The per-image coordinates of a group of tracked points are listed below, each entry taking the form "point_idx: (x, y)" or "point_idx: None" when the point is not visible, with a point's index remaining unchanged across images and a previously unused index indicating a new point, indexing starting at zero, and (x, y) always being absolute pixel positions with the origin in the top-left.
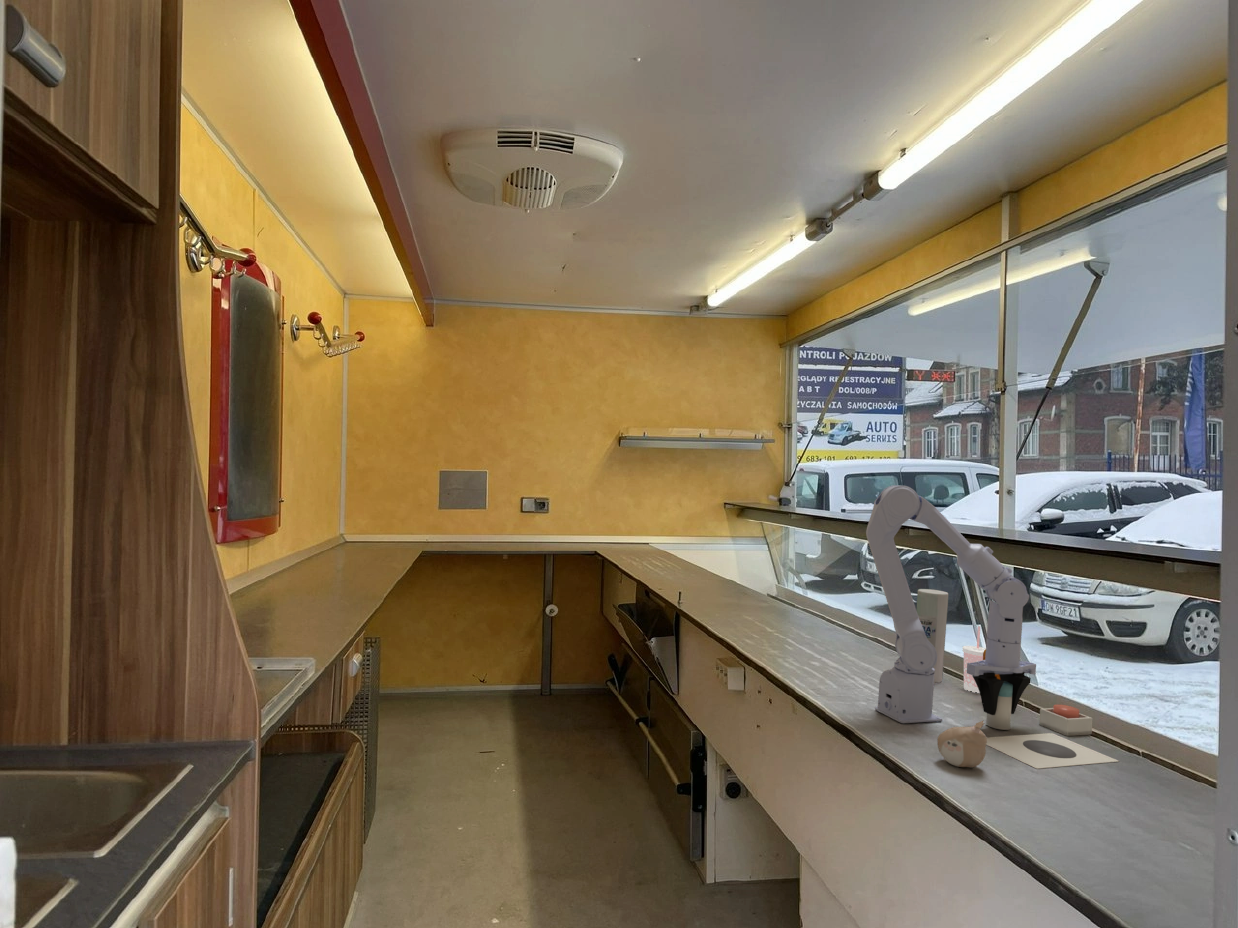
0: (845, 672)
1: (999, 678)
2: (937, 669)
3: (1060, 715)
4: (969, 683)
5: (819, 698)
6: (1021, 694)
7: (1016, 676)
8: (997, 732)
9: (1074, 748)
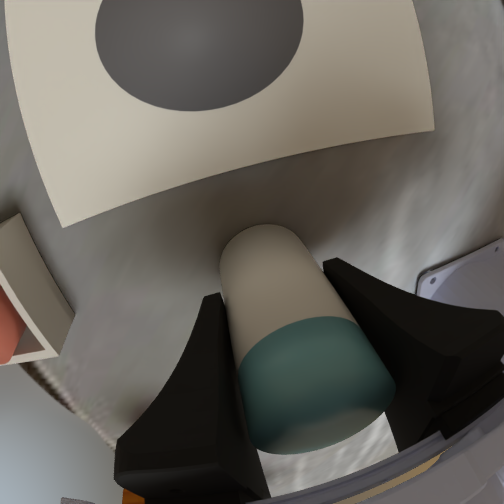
0: (361, 459)
1: None
2: None
3: (3, 297)
4: None
5: None
6: (176, 368)
7: (239, 483)
8: (306, 200)
9: (69, 49)
